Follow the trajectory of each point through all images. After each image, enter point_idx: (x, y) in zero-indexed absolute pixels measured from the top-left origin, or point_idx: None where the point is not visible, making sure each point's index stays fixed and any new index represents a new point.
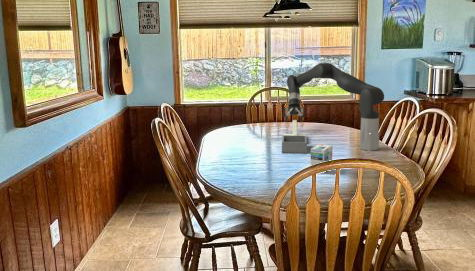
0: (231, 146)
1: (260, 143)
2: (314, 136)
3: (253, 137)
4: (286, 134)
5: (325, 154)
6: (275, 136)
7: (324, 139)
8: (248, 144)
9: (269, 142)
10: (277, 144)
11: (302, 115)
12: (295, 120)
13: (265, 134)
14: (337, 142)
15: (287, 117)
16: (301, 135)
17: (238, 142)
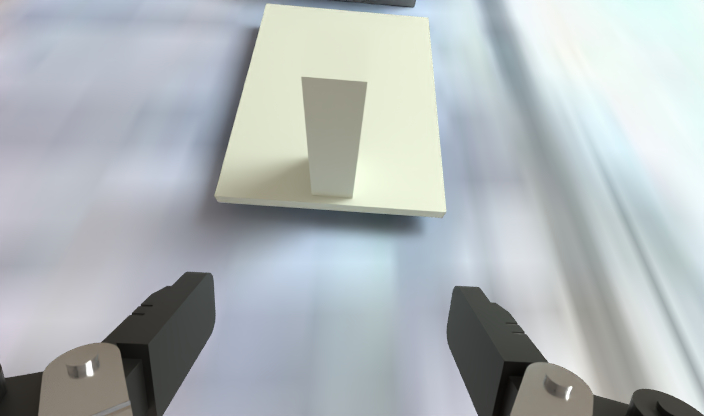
0: (679, 6)
1: (555, 51)
2: (117, 264)
3: (690, 217)
4: (411, 191)
5: None
6: (514, 260)
7: (80, 142)
8: (614, 35)
9: (507, 70)
10: (448, 29)
11: (66, 356)
12: (326, 45)
13: (649, 367)
14: (32, 57)
15: (489, 327)
16: (270, 149)
17: (699, 75)
